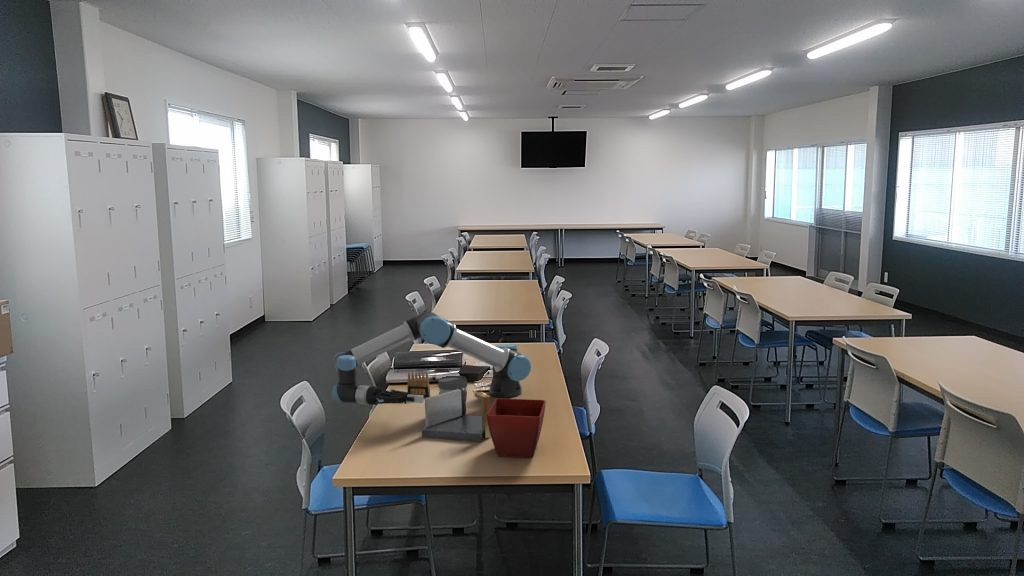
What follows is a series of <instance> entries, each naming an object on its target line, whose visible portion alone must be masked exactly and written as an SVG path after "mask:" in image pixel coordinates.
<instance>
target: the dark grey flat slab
mask: <svg viewBox="0 0 1024 576" xmlns="http://www.w3.org/2000/svg"><path fill="white" fill-rule="evenodd" d="M421 438H428V439H429V438H430V439H443V440H451V441H463V440H465V441H466V442H467V441H468V442H477V443H482V441H483V440H485V438H484V430H482V415H479V416H478V415H468V414H466V415H464V416H459V417H456V418H453V419H450V420H447V421H444V422H440V423H437V424H434V425H431V426H426V425H425V426H424V427H423V428H422V429H421ZM465 441H464V442H465Z"/></svg>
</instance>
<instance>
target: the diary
mask: <svg viewBox="0 0 1024 576" xmlns="http://www.w3.org/2000/svg"><path fill="white" fill-rule="evenodd" d="M462 365H463V366H462V367H461V368H460V371H459V372H458V373H459V374H460V376H463V377H466V379H467V383H475V382H474V381H479V380H481V379H482V378H483V376H484V374H485V373H486V372H487V371H488V370H491V365H472V364H471V365H470V364H462ZM449 370H451V369H449ZM449 370H448V369H437V368H435V369H434V370H433V371H432V373H433V372H449Z"/></svg>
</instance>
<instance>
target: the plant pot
mask: <svg viewBox="0 0 1024 576" xmlns="http://www.w3.org/2000/svg"><path fill="white" fill-rule="evenodd" d="M545 410H546V400H544V399H527V398H526V399H525V398H523V399H522V398H501V397H498V398H496V399H494V401H493V403H492V405H490V409H489V411H488V413H487V421H488V426H489V430H490V434H491V441H492V443H493V446H494V449H495V453H496V454H497V457H501V458H502V457H505V458H520V459H521V458H524V459H528V458H529V459H532V458H533V457H534V455H535V452H536V449H537V447H538V443H539V441H540V436H541V431H542V427H543V421H544V417H545V412H546V411H545Z"/></svg>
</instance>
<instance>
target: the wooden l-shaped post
mask: <svg viewBox="0 0 1024 576" xmlns="http://www.w3.org/2000/svg"><path fill="white" fill-rule="evenodd" d="M474 397H475V398H477V399H479V400H481V401H480V402H481V416H482V430H484V440H486V439H490V438H491V434H490V430H489V426H488V421H487V413H488V411H489V409H490V408H491V395H489V394H487V393H485V392H483V391H478V392H475V393H474ZM491 439H492V438H491Z"/></svg>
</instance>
